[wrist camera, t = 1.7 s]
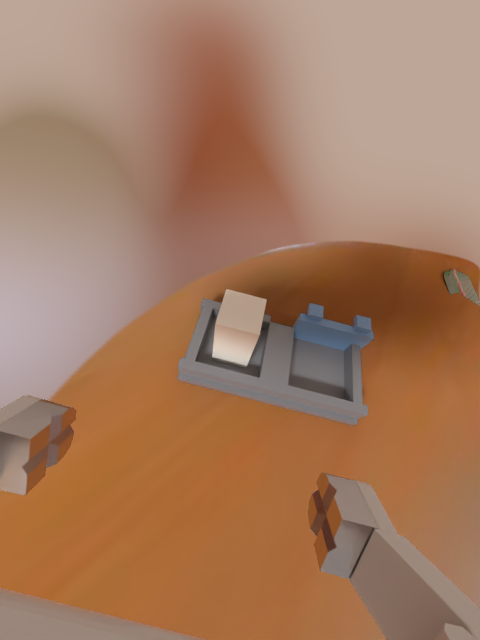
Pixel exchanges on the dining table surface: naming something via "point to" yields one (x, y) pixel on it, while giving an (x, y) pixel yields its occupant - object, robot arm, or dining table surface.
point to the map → (460, 285)
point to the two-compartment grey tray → (288, 364)
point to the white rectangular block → (237, 327)
